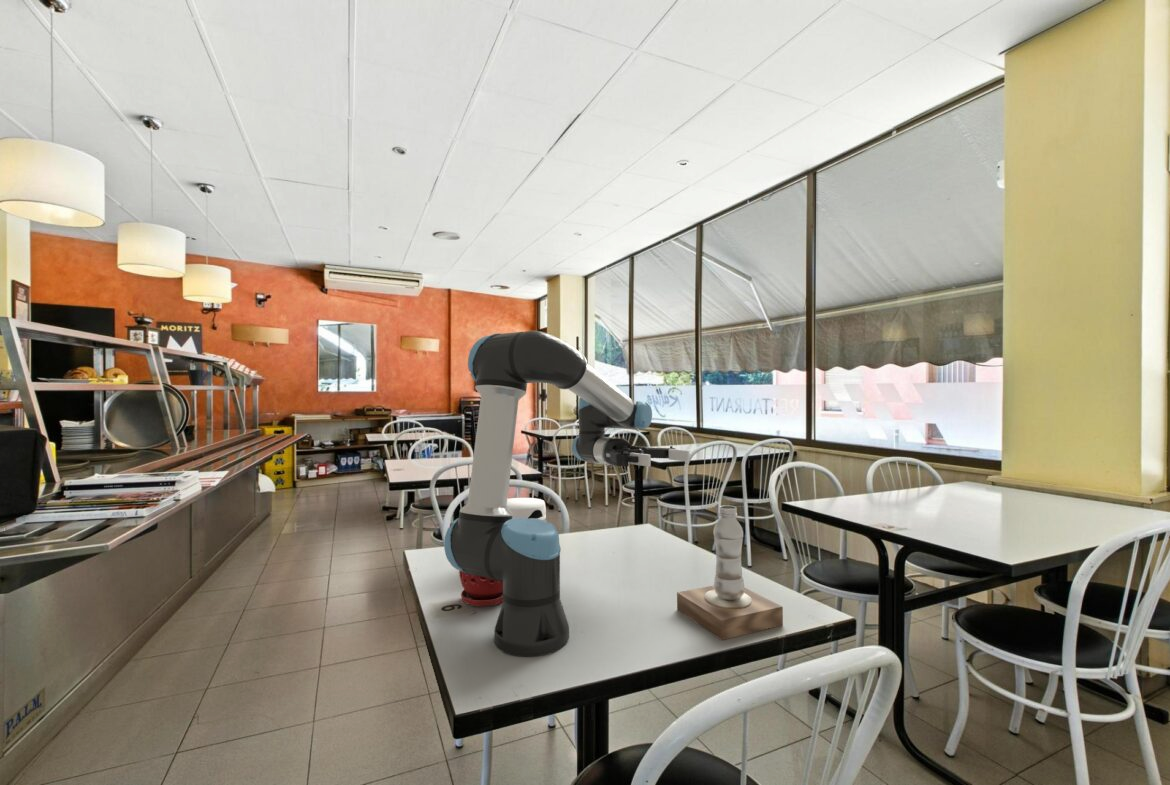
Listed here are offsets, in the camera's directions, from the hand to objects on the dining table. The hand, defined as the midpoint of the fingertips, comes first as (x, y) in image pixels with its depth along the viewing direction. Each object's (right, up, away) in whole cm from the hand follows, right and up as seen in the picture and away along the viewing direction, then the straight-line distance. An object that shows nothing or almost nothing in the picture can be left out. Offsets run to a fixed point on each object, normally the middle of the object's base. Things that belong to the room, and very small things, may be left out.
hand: (669, 458), depth 124 cm
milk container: (-40, -35, +28) cm, 60 cm away
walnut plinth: (+11, -34, -11) cm, 37 cm away
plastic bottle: (+11, -30, -11) cm, 34 cm away
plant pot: (-45, -35, +1) cm, 56 cm away
